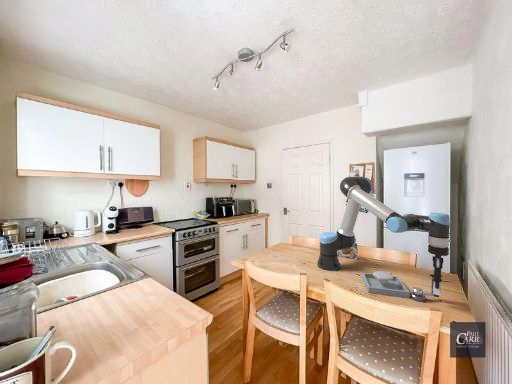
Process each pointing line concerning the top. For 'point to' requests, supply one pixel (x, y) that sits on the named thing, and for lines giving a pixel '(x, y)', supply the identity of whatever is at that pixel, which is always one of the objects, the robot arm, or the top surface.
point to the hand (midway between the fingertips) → (436, 294)
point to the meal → (349, 252)
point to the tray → (390, 288)
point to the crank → (420, 292)
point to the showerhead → (383, 277)
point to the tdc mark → (445, 301)
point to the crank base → (417, 297)
